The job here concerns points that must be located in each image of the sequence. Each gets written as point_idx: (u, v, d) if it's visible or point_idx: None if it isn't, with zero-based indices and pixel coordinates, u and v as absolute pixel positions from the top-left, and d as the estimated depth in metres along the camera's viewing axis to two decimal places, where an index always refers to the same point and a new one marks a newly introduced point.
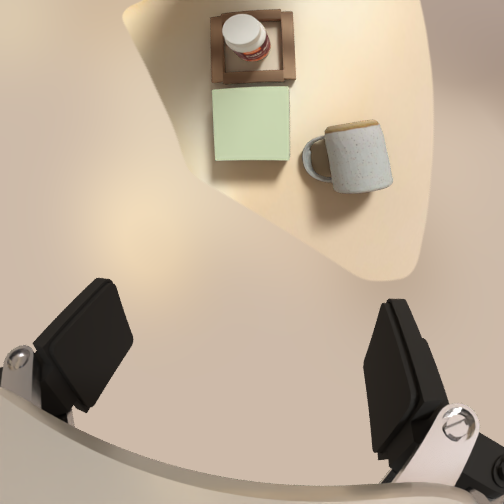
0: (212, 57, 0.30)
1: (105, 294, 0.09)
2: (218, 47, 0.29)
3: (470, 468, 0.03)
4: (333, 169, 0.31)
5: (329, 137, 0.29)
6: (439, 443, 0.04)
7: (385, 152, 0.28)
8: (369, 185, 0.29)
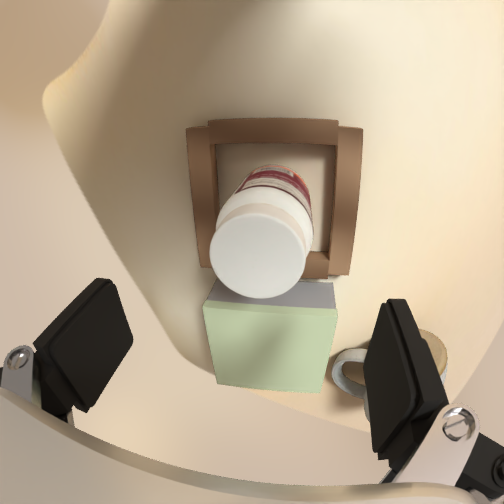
0: (197, 222, 0.19)
1: (105, 294, 0.09)
2: (207, 203, 0.18)
3: (470, 468, 0.03)
4: None
5: None
6: (439, 443, 0.04)
7: None
8: None
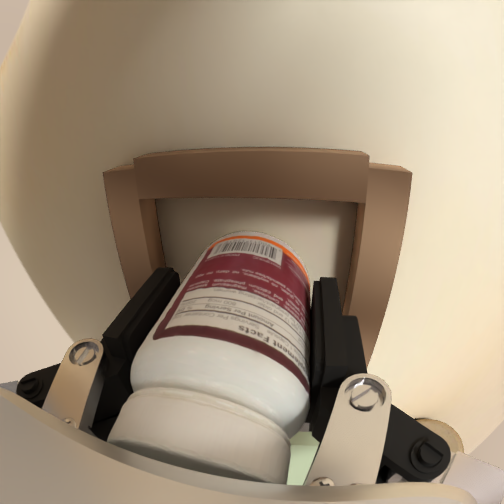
0: None
1: (171, 283, 0.09)
2: None
3: None
4: None
5: None
6: (349, 417, 0.05)
7: None
8: None
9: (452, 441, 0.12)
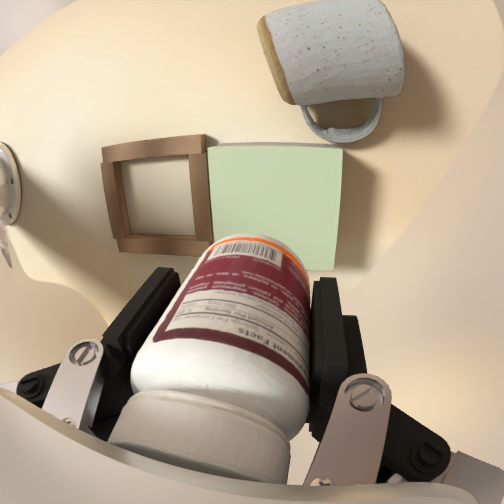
0: (173, 253, 0.26)
1: (171, 283, 0.09)
2: (159, 244, 0.26)
3: None
4: (361, 93, 0.14)
5: (300, 97, 0.15)
6: (349, 417, 0.05)
7: (315, 2, 0.11)
8: (386, 29, 0.10)
9: None
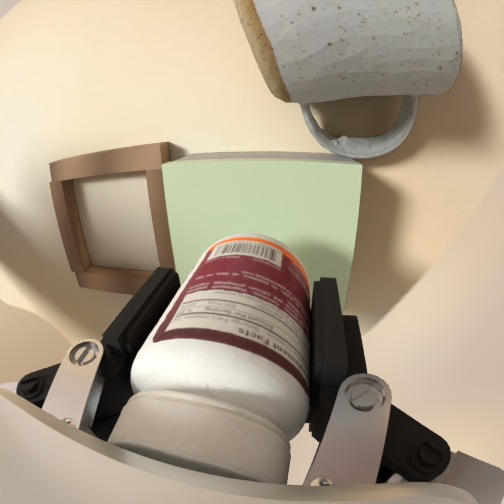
0: None
1: (171, 283, 0.09)
2: (120, 282, 0.20)
3: None
4: (395, 86, 0.09)
5: (299, 90, 0.09)
6: (349, 417, 0.05)
7: None
8: None
9: None
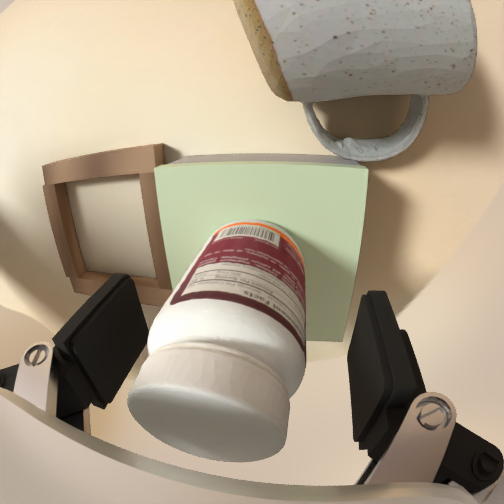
0: None
1: (124, 289, 0.09)
2: None
3: (447, 459, 0.04)
4: (405, 85, 0.08)
5: (302, 88, 0.08)
6: (415, 433, 0.04)
7: None
8: None
9: None
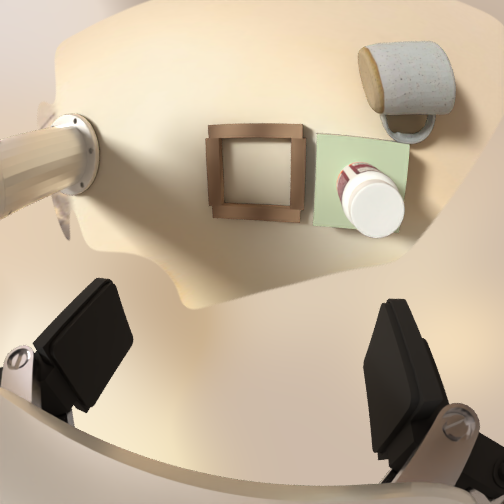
0: (267, 219, 0.32)
1: (105, 294, 0.09)
2: (255, 211, 0.32)
3: (470, 468, 0.03)
4: (426, 111, 0.20)
5: (389, 110, 0.21)
6: (439, 443, 0.04)
7: (401, 44, 0.17)
8: (447, 72, 0.16)
9: (359, 57, 0.20)
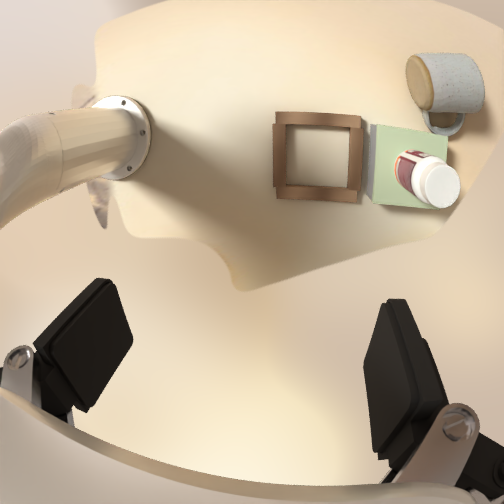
0: (328, 199, 0.34)
1: (105, 294, 0.09)
2: (317, 192, 0.34)
3: (470, 468, 0.03)
4: (461, 110, 0.22)
5: (435, 108, 0.23)
6: (439, 443, 0.04)
7: (444, 56, 0.19)
8: (479, 81, 0.18)
9: (409, 63, 0.23)
